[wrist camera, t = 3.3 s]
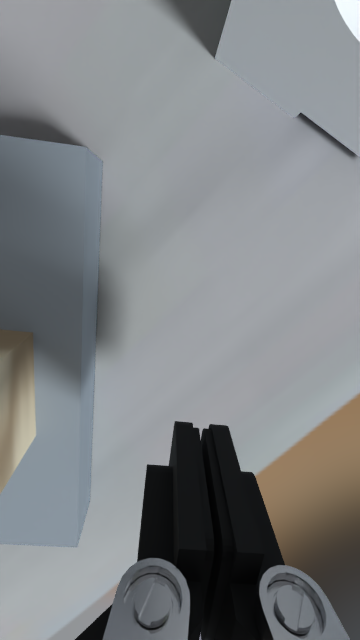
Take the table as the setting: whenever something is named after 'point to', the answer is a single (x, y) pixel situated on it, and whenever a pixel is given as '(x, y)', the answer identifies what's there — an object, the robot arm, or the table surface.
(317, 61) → the bracket
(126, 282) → the table surface
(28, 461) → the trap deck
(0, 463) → the maple block
